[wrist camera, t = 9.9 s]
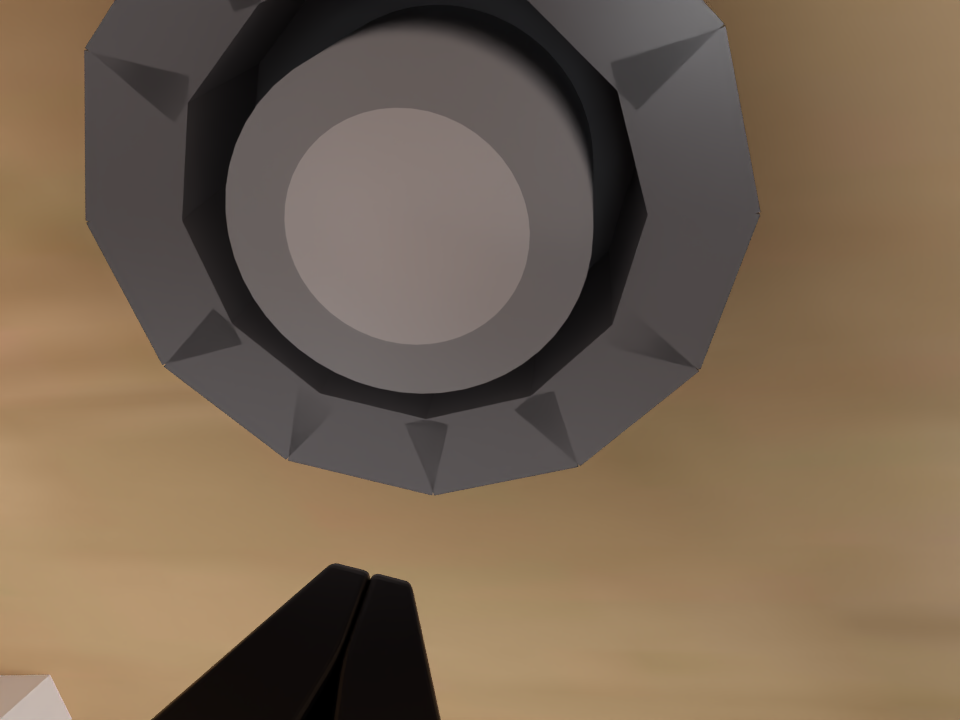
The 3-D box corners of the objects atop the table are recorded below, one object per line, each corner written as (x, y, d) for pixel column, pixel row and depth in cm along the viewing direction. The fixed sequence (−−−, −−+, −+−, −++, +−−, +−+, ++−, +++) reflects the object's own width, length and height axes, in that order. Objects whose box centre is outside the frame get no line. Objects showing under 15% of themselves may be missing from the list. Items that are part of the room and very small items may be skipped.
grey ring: (799, -76, 16) (866, -61, 12) (625, 421, 21) (632, 543, 18) (207, -221, 16) (82, -253, 12) (180, 313, 21) (86, 411, 17)
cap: (631, 47, 16) (642, 93, 13) (550, 329, 19) (541, 429, 16) (315, -30, 16) (239, -6, 13) (282, 263, 19) (212, 349, 16)
